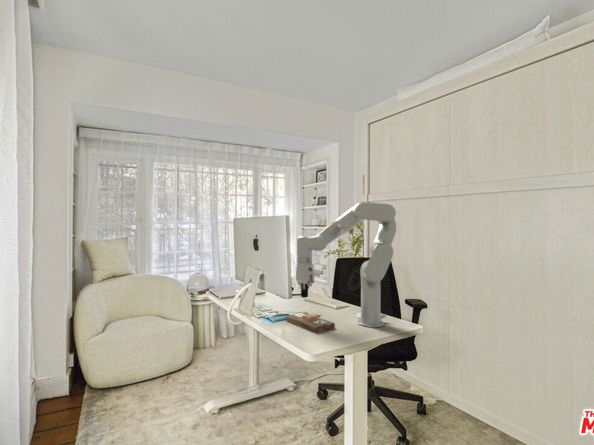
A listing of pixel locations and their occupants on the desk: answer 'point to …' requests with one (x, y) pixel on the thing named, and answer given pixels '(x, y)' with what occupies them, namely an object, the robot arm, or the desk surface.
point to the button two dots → (309, 317)
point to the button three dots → (319, 322)
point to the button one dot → (299, 315)
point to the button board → (310, 324)
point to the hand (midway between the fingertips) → (304, 296)
